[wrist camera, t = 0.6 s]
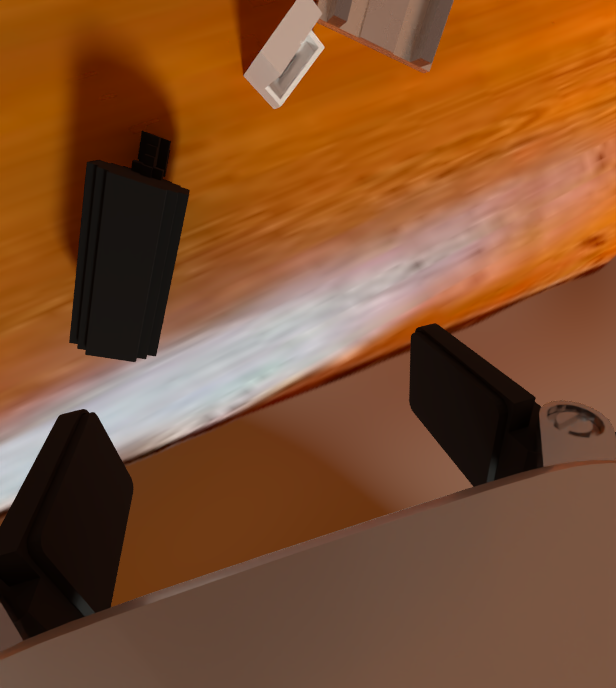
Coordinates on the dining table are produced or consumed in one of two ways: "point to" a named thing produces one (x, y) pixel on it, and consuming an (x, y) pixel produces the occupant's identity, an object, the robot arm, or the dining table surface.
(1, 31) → the dining table surface
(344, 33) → the rail board
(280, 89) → the white wedge bracket
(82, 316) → the security camera
